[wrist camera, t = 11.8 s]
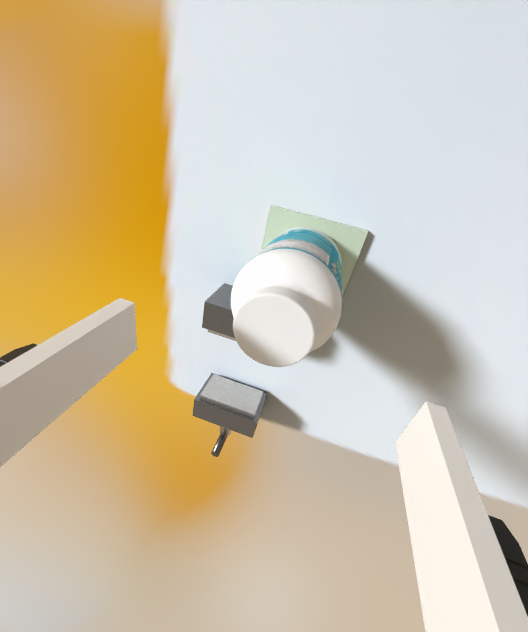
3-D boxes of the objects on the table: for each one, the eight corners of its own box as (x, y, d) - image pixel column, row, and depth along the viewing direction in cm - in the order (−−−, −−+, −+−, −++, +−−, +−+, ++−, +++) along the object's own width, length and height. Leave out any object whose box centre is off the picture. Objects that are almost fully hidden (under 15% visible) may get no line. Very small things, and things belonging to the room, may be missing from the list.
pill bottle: (322, 310, 28) (307, 405, 17) (257, 283, 29) (198, 357, 17) (357, 242, 25) (367, 304, 13) (280, 212, 25) (225, 246, 14)
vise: (227, 280, 32) (200, 306, 26) (294, 300, 31) (282, 332, 25) (209, 406, 42) (186, 445, 36) (258, 424, 41) (243, 467, 35)
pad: (271, 205, 26) (270, 205, 25) (367, 230, 25) (368, 231, 24) (254, 290, 30) (252, 292, 30) (334, 315, 29) (334, 317, 29)
